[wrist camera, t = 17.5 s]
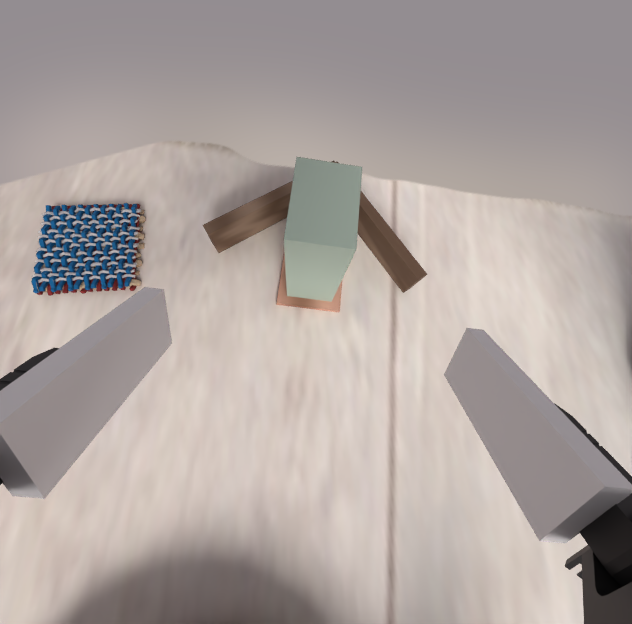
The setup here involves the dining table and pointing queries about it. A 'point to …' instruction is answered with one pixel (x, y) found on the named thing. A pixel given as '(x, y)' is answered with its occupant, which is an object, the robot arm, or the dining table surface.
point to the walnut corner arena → (262, 216)
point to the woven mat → (88, 248)
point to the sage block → (321, 227)
